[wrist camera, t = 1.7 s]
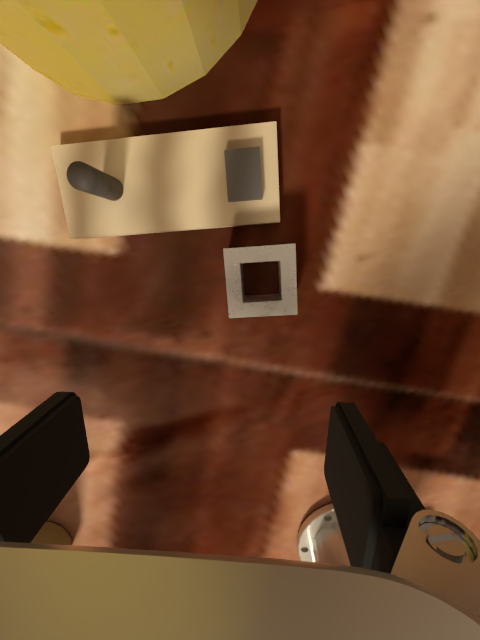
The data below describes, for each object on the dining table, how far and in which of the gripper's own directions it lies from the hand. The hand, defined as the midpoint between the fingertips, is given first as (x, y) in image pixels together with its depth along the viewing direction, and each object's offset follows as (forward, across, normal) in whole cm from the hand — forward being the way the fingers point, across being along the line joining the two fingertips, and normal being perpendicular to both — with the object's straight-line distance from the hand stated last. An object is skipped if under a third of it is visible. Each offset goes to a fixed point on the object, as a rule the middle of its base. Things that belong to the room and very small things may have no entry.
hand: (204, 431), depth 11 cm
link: (+20, -2, -3) cm, 20 cm away
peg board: (+20, +6, -11) cm, 24 cm away
